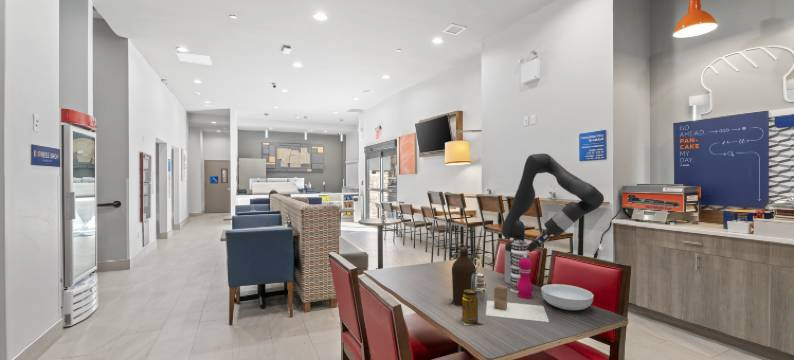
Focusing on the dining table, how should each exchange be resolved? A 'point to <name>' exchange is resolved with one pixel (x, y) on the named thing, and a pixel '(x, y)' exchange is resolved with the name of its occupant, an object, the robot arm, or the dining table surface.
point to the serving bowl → (567, 296)
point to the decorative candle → (516, 262)
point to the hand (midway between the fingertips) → (529, 248)
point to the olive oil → (462, 276)
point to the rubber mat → (518, 311)
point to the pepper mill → (524, 279)
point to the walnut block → (500, 297)
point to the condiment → (470, 307)
